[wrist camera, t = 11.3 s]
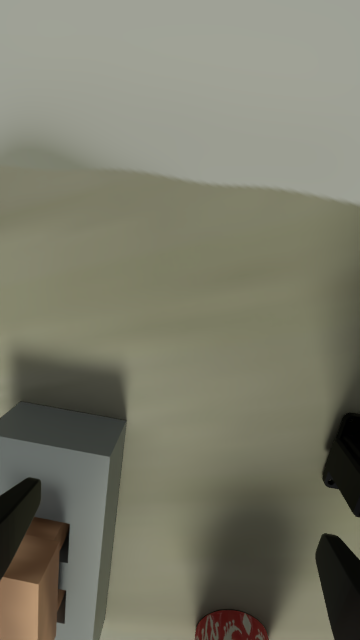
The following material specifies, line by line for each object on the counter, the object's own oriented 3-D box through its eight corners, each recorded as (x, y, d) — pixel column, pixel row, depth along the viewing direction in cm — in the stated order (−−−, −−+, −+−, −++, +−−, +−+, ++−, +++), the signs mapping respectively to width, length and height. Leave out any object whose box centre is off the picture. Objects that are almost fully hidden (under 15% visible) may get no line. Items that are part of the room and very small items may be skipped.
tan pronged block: (84, 492, 22) (38, 584, 16) (78, 576, 25) (37, 684, 19) (44, 484, 23) (-17, 573, 16) (42, 568, 25) (-11, 673, 19)
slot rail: (126, 420, 22) (110, 456, 18) (104, 618, 28) (88, 678, 24) (20, 401, 22) (-18, 432, 18) (22, 601, 28) (-7, 656, 24)
